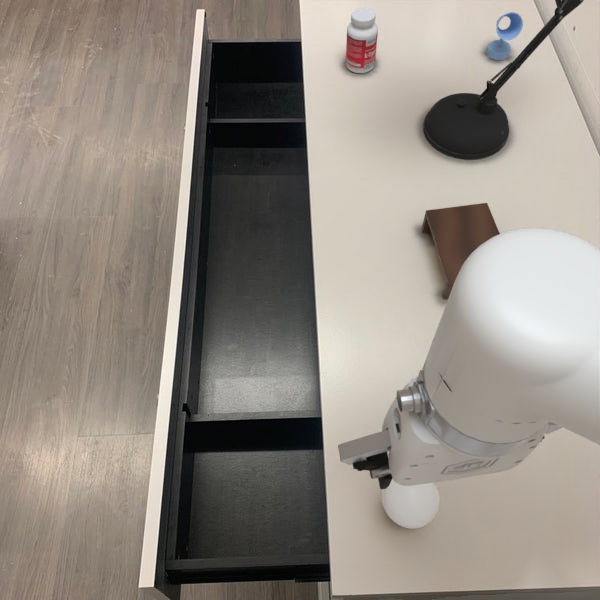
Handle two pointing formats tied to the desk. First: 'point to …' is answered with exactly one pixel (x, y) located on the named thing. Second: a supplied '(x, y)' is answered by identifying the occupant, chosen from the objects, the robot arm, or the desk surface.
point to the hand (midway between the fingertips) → (433, 462)
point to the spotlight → (505, 37)
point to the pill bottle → (361, 41)
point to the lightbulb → (411, 503)
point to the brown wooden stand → (458, 235)
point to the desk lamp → (482, 107)
